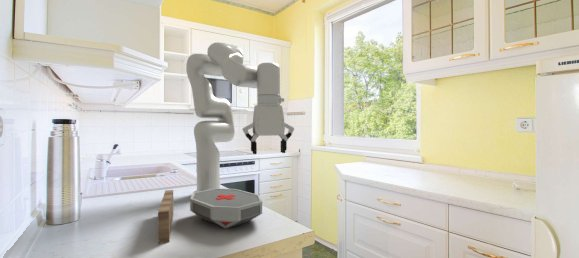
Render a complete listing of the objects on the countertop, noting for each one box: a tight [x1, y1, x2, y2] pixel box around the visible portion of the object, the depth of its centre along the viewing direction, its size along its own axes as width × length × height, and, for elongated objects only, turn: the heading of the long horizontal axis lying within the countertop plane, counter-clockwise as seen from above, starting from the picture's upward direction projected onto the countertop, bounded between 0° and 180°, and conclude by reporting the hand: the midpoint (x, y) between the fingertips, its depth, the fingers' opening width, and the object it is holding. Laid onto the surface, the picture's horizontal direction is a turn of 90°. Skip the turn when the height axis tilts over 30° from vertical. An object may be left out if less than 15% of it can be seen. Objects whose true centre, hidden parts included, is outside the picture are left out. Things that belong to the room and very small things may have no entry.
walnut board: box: [157, 189, 174, 244], centre depth 87 cm, size 25×2×8 cm, turn 19°
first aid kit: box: [189, 188, 263, 229], centre depth 93 cm, size 18×8×25 cm
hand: (268, 153), depth 96 cm, fingers open, 9 cm apart
